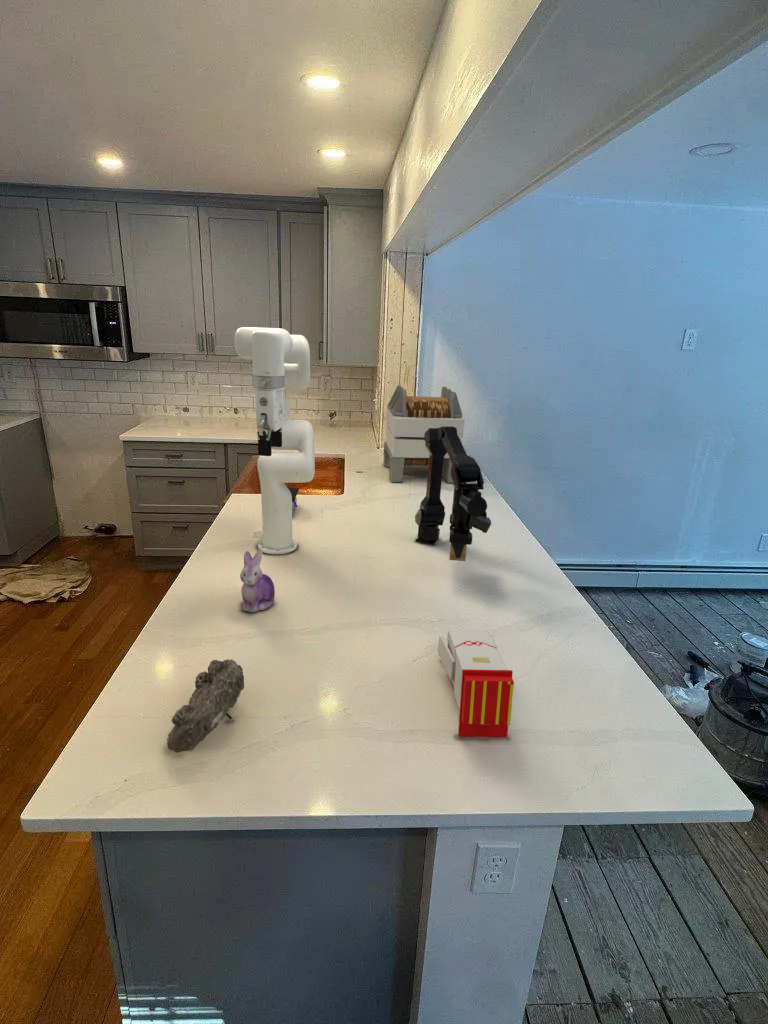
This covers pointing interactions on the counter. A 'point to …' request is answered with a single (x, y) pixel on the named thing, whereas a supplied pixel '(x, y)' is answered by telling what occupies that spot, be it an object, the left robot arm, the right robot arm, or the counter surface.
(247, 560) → the figurine
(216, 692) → the fossil
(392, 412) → the transformer
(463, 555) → the brown wooden cube
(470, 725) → the toy
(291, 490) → the figurine character
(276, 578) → the counter surface
